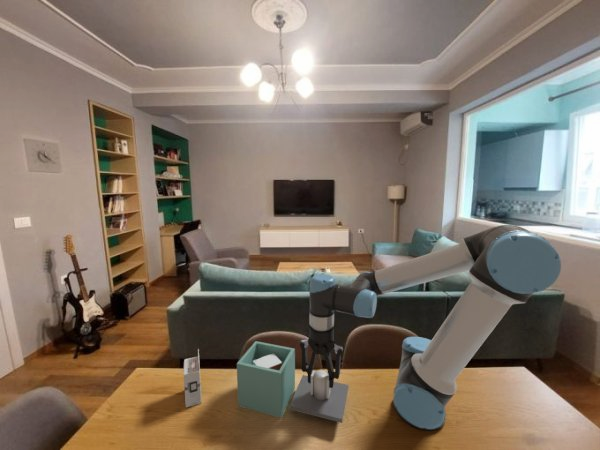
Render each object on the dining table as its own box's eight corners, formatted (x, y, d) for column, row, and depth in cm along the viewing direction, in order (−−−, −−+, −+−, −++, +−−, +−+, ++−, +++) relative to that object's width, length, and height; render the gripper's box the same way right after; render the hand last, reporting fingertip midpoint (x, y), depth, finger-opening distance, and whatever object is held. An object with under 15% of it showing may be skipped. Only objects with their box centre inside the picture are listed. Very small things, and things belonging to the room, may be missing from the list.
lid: (348, 392, 90) (349, 365, 89) (342, 427, 77) (342, 397, 75) (302, 381, 95) (303, 356, 93) (289, 413, 82) (289, 384, 80)
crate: (294, 387, 94) (294, 348, 92) (281, 418, 82) (281, 373, 80) (256, 378, 99) (255, 341, 97) (238, 406, 87) (236, 363, 84)
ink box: (185, 389, 94) (183, 350, 91) (200, 385, 95) (198, 347, 93) (185, 408, 86) (182, 366, 84) (201, 403, 87) (199, 362, 85)
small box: (260, 408, 86) (260, 371, 84) (252, 395, 91) (251, 360, 89) (282, 397, 90) (282, 362, 88) (274, 386, 95) (273, 352, 93)
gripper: (351, 323, 83) (349, 391, 86) (298, 315, 88) (298, 379, 91) (348, 336, 76) (346, 409, 79) (290, 326, 81) (290, 395, 84)
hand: (320, 393), depth 85 cm, fingers closed on lid, 4 cm apart
